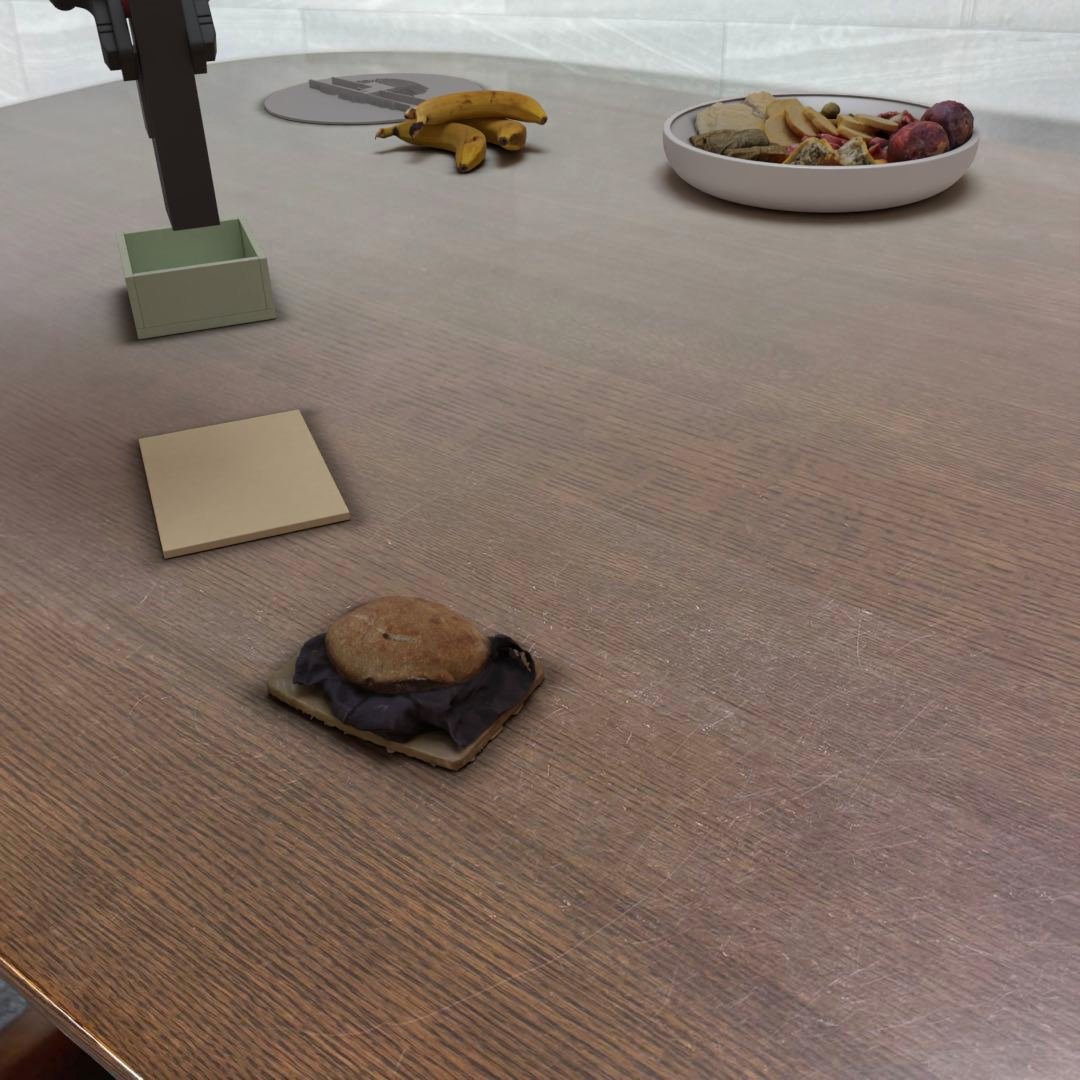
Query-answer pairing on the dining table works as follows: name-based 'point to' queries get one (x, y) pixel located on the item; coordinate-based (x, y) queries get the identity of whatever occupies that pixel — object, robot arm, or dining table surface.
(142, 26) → the bar
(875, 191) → the bowl
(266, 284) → the green open box
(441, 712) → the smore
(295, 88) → the plate
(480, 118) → the banana
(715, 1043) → the dining table surface
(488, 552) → the dining table surface
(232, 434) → the mat
